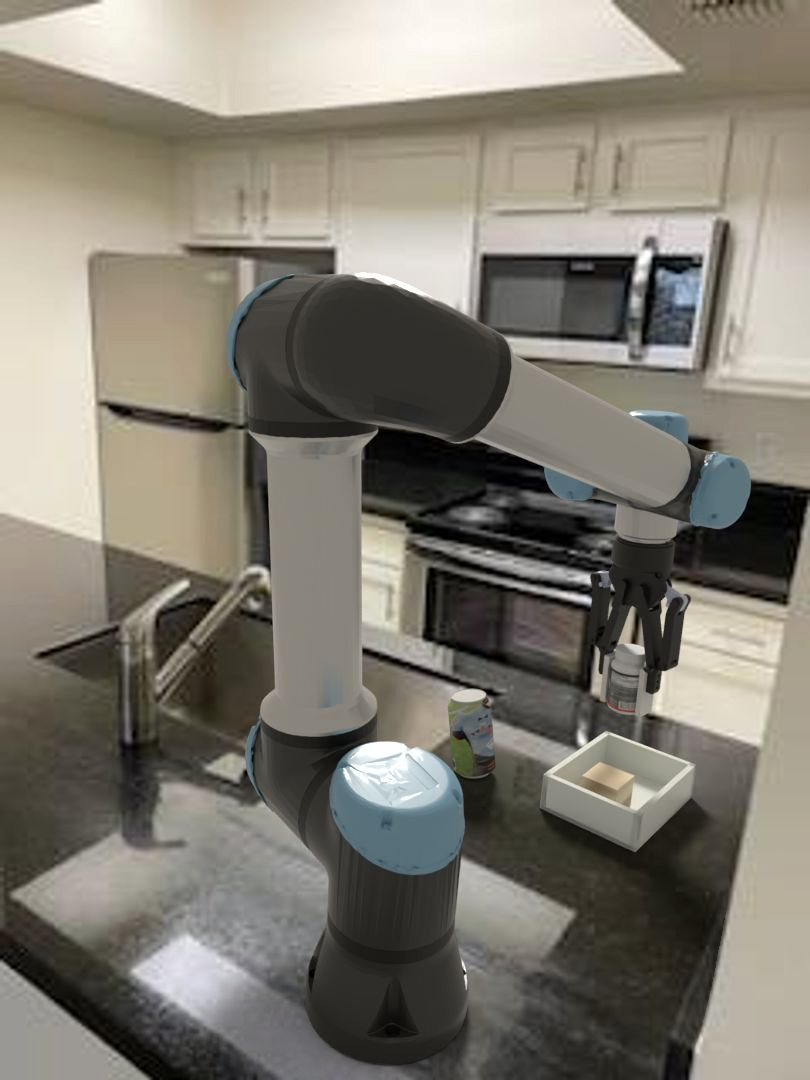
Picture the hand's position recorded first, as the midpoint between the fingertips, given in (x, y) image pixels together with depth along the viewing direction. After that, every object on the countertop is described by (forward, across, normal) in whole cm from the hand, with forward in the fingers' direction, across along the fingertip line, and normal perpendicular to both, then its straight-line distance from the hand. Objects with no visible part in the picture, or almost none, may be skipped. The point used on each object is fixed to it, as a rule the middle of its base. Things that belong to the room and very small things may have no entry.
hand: (625, 705), depth 111 cm
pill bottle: (+1, 0, 0) cm, 1 cm away
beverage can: (+14, +17, +11) cm, 25 cm away
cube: (+13, -1, +5) cm, 14 cm away
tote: (+14, -1, +1) cm, 14 cm away
